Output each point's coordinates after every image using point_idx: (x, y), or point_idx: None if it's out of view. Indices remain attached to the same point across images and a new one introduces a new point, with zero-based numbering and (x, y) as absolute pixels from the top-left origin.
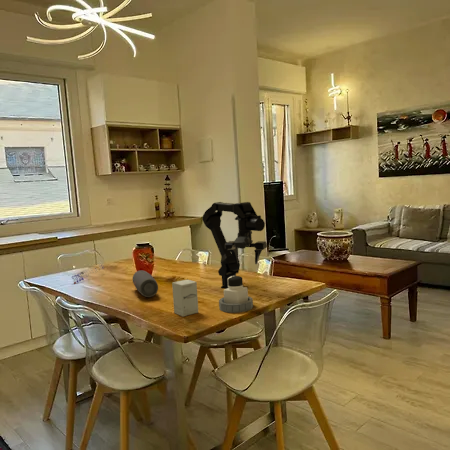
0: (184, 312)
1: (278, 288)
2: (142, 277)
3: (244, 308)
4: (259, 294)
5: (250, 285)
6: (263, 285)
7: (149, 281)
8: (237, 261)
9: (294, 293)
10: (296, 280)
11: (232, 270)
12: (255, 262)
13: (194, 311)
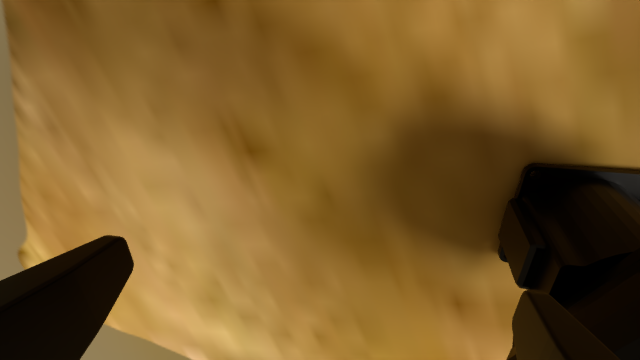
0: None
1: (183, 203)
2: None
3: None
4: (234, 27)
5: (396, 259)
6: (306, 260)
7: None
8: (535, 339)
9: (31, 102)
10: (176, 342)
11: (597, 292)
12: (89, 251)
13: None
